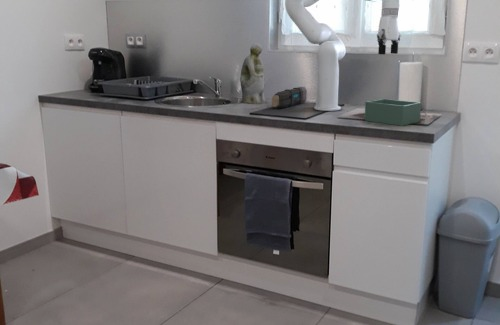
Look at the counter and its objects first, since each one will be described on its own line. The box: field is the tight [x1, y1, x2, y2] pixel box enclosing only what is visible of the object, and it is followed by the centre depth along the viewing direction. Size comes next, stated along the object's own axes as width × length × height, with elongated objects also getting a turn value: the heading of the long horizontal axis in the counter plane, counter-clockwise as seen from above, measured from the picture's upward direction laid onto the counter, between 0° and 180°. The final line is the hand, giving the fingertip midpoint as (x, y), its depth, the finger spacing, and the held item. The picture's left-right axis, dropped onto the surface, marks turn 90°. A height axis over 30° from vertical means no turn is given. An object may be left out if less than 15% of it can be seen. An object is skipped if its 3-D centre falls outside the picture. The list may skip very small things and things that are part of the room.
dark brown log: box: [271, 86, 308, 109], centre depth 258 cm, size 11×7×30 cm
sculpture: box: [239, 42, 266, 105], centre depth 271 cm, size 11×14×30 cm
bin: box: [364, 98, 422, 127], centre depth 215 cm, size 18×14×8 cm
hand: (388, 53), depth 229 cm, fingers open, 9 cm apart
